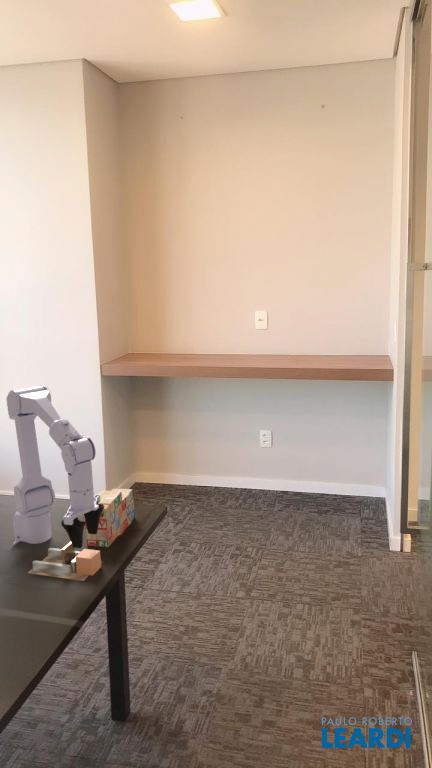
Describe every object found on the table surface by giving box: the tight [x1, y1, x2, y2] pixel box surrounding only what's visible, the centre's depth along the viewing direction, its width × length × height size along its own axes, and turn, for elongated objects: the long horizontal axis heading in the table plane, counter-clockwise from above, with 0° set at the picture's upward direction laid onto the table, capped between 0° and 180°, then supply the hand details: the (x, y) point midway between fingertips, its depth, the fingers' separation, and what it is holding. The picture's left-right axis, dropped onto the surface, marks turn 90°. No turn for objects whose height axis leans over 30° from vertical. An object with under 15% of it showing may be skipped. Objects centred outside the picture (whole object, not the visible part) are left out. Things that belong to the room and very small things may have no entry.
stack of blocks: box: [84, 488, 136, 548], centre depth 178 cm, size 21×6×12 cm, turn 168°
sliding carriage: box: [60, 540, 77, 572], centre depth 157 cm, size 4×5×6 cm
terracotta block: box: [75, 548, 102, 576], centre depth 156 cm, size 4×4×4 cm
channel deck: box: [27, 547, 103, 582], centre depth 158 cm, size 16×10×4 cm, turn 73°
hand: (85, 540), depth 155 cm, fingers open, 7 cm apart
